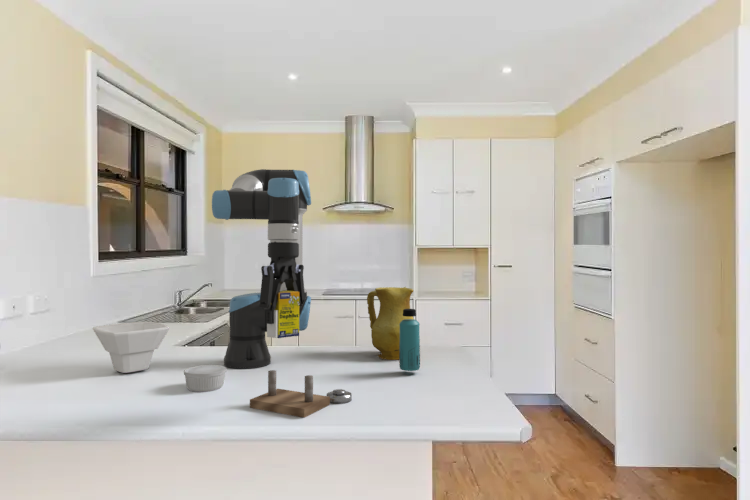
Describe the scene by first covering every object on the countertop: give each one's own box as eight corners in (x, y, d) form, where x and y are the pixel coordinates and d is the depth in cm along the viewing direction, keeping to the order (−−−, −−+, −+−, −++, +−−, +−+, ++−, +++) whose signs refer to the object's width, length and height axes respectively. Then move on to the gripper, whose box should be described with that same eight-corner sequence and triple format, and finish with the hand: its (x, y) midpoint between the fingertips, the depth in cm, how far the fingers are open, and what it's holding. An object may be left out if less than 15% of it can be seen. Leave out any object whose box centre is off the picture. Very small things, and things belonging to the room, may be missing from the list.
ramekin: (182, 384, 149) (182, 366, 149) (223, 381, 153) (223, 363, 153) (185, 395, 139) (185, 375, 139) (228, 390, 143) (228, 371, 143)
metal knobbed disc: (321, 401, 133) (321, 392, 133) (334, 395, 139) (334, 386, 139) (343, 405, 130) (343, 395, 130) (356, 398, 136) (356, 389, 136)
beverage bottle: (418, 376, 159) (419, 310, 158) (397, 375, 160) (397, 309, 160) (421, 371, 165) (421, 307, 165) (400, 370, 166) (400, 307, 166)
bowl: (175, 371, 165) (175, 326, 165) (110, 382, 151) (110, 334, 150) (149, 361, 178) (149, 320, 177) (87, 371, 163) (86, 327, 163)
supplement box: (278, 338, 125) (278, 292, 125) (266, 335, 129) (266, 291, 129) (300, 336, 129) (300, 291, 129) (287, 333, 133) (287, 289, 133)
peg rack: (249, 407, 128) (249, 374, 128) (277, 396, 138) (277, 365, 138) (304, 417, 121) (304, 382, 121) (329, 404, 130) (329, 372, 130)
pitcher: (385, 362, 175) (386, 287, 176) (361, 355, 192) (361, 286, 193) (429, 359, 183) (429, 287, 184) (401, 352, 200) (402, 286, 201)
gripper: (268, 240, 118) (268, 342, 118) (319, 242, 136) (319, 330, 136) (242, 241, 122) (242, 339, 122) (296, 242, 140) (296, 328, 140)
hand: (283, 334), depth 129 cm, fingers closed on supplement box, 7 cm apart
